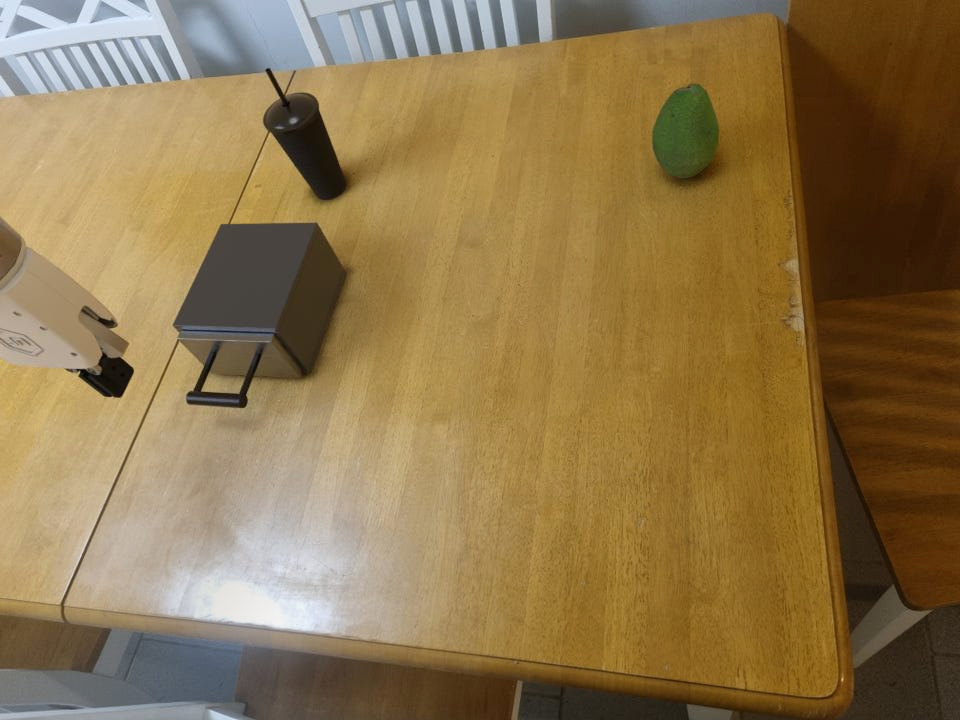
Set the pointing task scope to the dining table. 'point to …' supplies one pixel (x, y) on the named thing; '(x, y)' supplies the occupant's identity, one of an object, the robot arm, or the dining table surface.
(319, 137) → the drinking cup
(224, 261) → the cabinet
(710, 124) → the fruit
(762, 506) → the dining table surface
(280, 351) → the drawer
